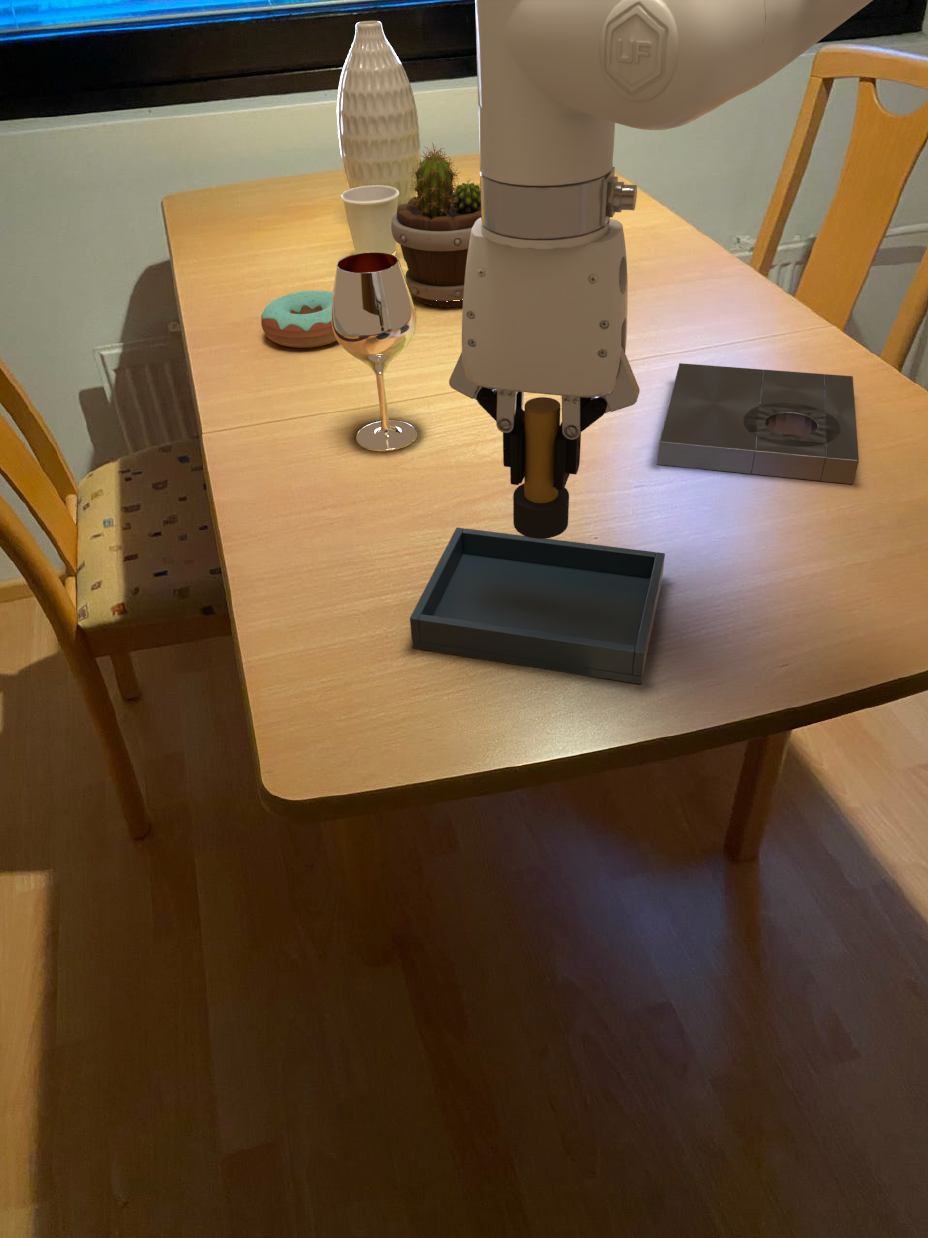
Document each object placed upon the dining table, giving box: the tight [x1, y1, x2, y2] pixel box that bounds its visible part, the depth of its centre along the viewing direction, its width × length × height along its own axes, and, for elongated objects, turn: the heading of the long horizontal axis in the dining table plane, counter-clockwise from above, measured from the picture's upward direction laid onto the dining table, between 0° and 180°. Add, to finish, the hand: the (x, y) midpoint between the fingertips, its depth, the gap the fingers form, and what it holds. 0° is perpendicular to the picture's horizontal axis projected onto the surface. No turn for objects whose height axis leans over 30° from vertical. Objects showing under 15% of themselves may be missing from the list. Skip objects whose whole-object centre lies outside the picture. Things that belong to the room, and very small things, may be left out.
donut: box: [260, 290, 338, 349], centre depth 118 cm, size 12×12×4 cm
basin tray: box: [409, 527, 666, 685], centre depth 73 cm, size 17×12×3 cm
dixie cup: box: [340, 185, 399, 254], centre depth 135 cm, size 8×8×10 cm
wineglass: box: [331, 252, 418, 453], centre depth 91 cm, size 8×8×18 cm
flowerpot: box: [391, 141, 481, 308], centre depth 121 cm, size 14×15×20 cm
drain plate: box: [656, 362, 860, 485], centre depth 94 cm, size 18×18×2 cm
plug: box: [512, 396, 570, 539], centre depth 65 cm, size 4×4×10 cm
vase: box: [336, 20, 421, 207], centre depth 145 cm, size 13×13×28 cm
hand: (541, 475), depth 66 cm, fingers closed on plug, 2 cm apart
